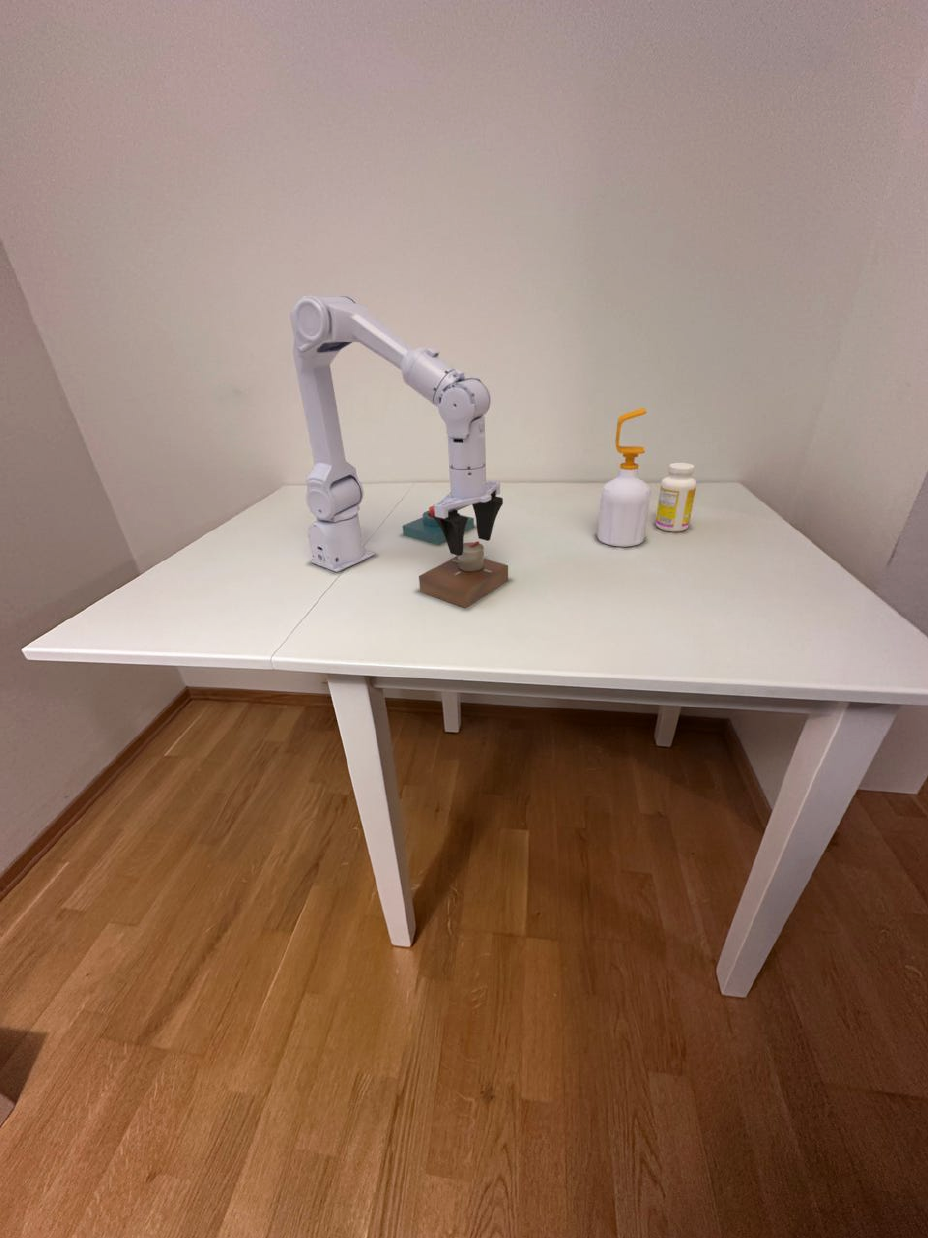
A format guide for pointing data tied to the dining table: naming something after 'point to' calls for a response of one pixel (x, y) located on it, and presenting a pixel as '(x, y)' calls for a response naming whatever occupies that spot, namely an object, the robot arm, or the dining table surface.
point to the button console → (429, 529)
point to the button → (431, 511)
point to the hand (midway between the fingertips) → (470, 546)
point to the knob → (471, 557)
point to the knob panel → (462, 581)
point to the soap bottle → (624, 498)
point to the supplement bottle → (676, 498)
